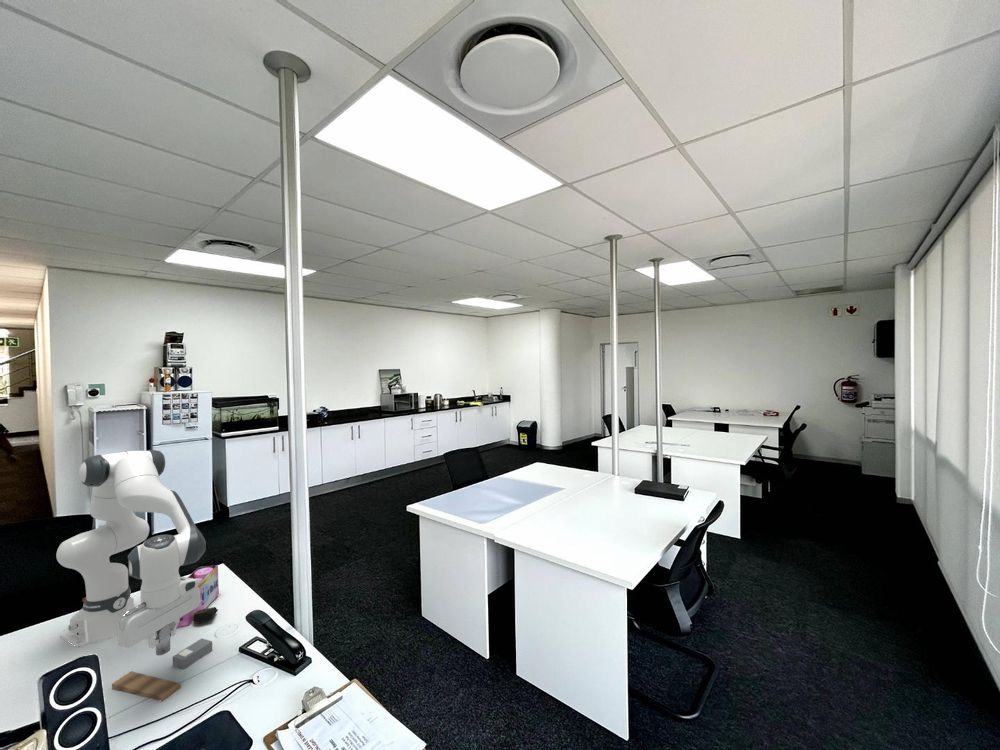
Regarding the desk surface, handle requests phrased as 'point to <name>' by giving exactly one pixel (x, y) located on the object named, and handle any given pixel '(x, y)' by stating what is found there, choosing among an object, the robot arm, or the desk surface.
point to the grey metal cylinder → (163, 640)
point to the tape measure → (204, 614)
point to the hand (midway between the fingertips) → (162, 640)
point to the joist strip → (146, 686)
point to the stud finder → (192, 653)
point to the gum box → (203, 590)
